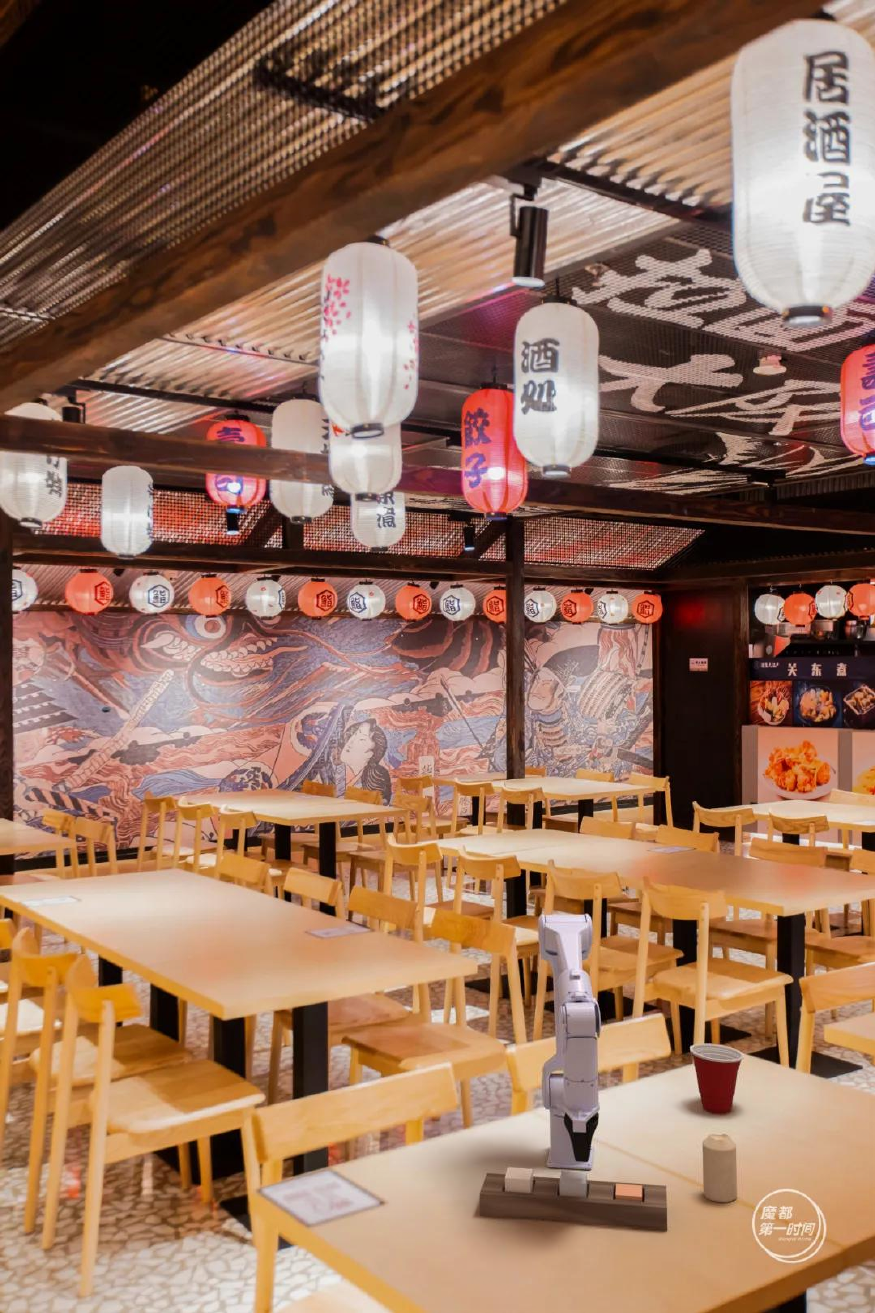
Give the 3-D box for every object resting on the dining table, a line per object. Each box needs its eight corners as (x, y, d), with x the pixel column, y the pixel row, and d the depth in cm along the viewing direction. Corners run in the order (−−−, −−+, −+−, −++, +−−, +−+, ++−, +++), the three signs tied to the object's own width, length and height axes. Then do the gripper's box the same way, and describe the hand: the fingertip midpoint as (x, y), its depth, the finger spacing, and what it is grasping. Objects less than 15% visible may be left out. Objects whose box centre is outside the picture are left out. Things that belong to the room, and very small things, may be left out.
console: (487, 1194, 185) (486, 1173, 185) (666, 1207, 179) (666, 1186, 180) (479, 1215, 177) (479, 1193, 178) (667, 1230, 172) (666, 1208, 172)
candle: (731, 1187, 186) (730, 1128, 187) (741, 1202, 181) (740, 1141, 181) (699, 1188, 186) (698, 1129, 187) (708, 1203, 181) (707, 1142, 181)
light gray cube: (561, 1192, 181) (561, 1171, 181) (587, 1194, 180) (586, 1173, 180) (559, 1204, 177) (559, 1182, 177) (585, 1206, 176) (585, 1184, 176)
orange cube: (616, 1205, 179) (616, 1183, 179) (642, 1207, 178) (642, 1185, 179) (615, 1217, 175) (615, 1195, 175) (642, 1219, 174) (641, 1197, 174)
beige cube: (508, 1188, 183) (507, 1167, 183) (533, 1190, 182) (532, 1169, 182) (505, 1199, 179) (504, 1178, 179) (530, 1201, 178) (530, 1180, 178)
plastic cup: (751, 1119, 217) (750, 1058, 218) (697, 1119, 217) (696, 1058, 218) (737, 1099, 228) (736, 1041, 228) (685, 1099, 228) (684, 1041, 228)
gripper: (559, 1060, 187) (560, 1141, 186) (553, 1090, 173) (554, 1177, 172) (600, 1062, 186) (601, 1143, 185) (598, 1093, 171) (599, 1180, 171)
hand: (582, 1160), depth 179 cm, fingers closed
